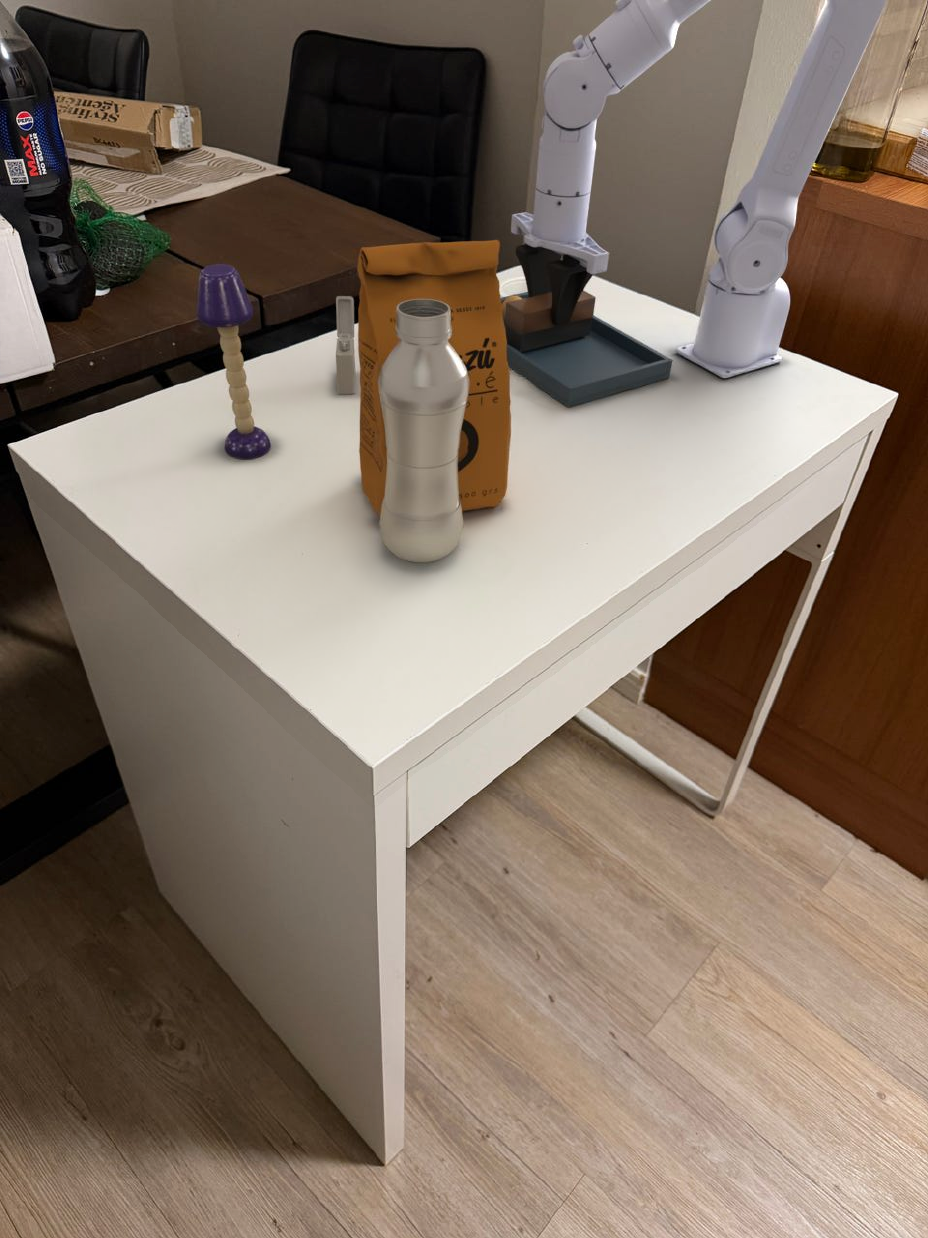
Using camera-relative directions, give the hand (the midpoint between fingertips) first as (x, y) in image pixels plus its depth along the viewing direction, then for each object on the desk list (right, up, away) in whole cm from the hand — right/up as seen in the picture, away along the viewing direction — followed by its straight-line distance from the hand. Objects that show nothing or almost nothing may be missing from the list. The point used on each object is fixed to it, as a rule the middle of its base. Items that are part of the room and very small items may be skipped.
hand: (549, 316), depth 104 cm
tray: (+1, -3, +1) cm, 4 cm away
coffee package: (-13, -23, -22) cm, 35 cm away
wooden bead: (-4, +3, +5) cm, 7 cm away
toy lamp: (-30, -18, -17) cm, 39 cm away
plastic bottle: (-13, -29, -29) cm, 43 cm away
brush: (0, -2, +2) cm, 3 cm away
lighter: (-22, -9, -6) cm, 25 cm away
